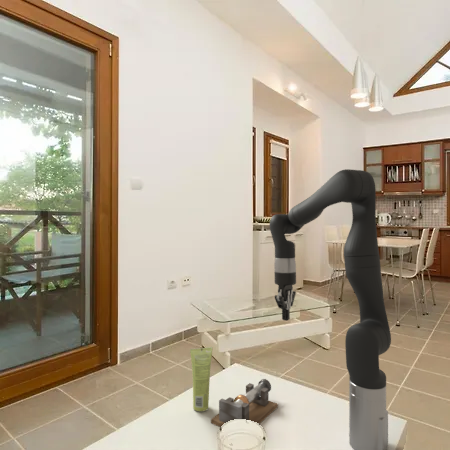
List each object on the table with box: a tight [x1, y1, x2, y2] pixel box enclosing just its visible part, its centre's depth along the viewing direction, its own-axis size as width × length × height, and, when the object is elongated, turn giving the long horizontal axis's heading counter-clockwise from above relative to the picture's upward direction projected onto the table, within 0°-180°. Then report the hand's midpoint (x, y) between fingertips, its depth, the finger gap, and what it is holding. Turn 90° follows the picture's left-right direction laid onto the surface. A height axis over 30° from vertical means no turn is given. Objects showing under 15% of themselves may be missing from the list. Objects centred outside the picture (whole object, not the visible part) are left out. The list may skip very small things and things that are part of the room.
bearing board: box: [210, 382, 278, 428], centre depth 111 cm, size 12×20×7 cm, turn 144°
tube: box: [189, 346, 214, 412], centre depth 115 cm, size 6×5×20 cm
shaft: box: [233, 378, 272, 406], centre depth 113 cm, size 5×19×5 cm, turn 144°
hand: (285, 319), depth 124 cm, fingers closed
